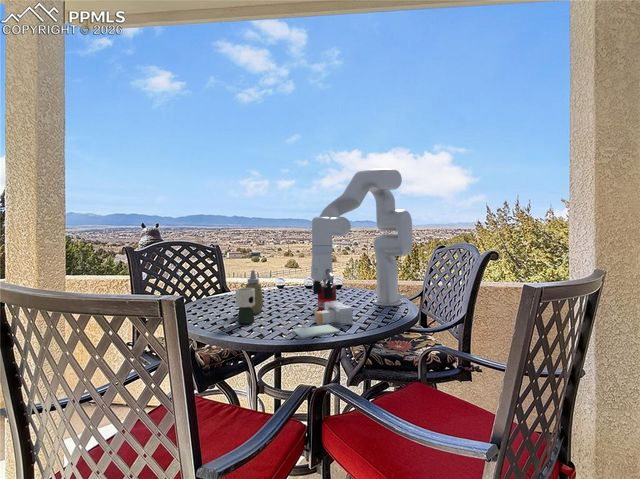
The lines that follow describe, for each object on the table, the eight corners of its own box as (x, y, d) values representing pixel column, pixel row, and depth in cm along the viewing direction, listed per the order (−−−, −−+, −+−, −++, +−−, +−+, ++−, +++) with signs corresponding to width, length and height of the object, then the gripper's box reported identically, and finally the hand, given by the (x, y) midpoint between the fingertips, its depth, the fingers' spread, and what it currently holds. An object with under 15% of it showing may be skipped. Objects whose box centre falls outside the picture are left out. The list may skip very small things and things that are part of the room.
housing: (336, 315, 155) (335, 300, 155) (352, 323, 142) (352, 307, 142) (324, 317, 153) (324, 302, 153) (340, 325, 140) (340, 308, 140)
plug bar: (343, 318, 151) (343, 308, 151) (347, 320, 147) (347, 310, 147) (314, 322, 146) (314, 311, 146) (318, 324, 143) (318, 313, 143)
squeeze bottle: (265, 310, 168) (264, 269, 167) (261, 314, 160) (259, 271, 159) (247, 310, 168) (246, 269, 168) (241, 314, 160) (240, 271, 160)
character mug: (250, 327, 141) (249, 291, 140) (231, 326, 142) (230, 291, 141) (259, 319, 151) (258, 286, 151) (242, 319, 152) (241, 286, 152)
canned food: (336, 311, 164) (336, 285, 163) (317, 311, 164) (317, 285, 163) (336, 307, 171) (335, 282, 171) (318, 307, 172) (317, 282, 171)
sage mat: (328, 326, 140) (328, 324, 140) (340, 332, 132) (339, 330, 132) (292, 331, 134) (292, 329, 134) (301, 337, 126) (301, 336, 126)
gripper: (304, 249, 150) (304, 293, 151) (322, 251, 134) (322, 300, 135) (321, 248, 153) (322, 291, 154) (341, 251, 137) (341, 298, 138)
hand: (322, 295), depth 144 cm, fingers open, 9 cm apart
